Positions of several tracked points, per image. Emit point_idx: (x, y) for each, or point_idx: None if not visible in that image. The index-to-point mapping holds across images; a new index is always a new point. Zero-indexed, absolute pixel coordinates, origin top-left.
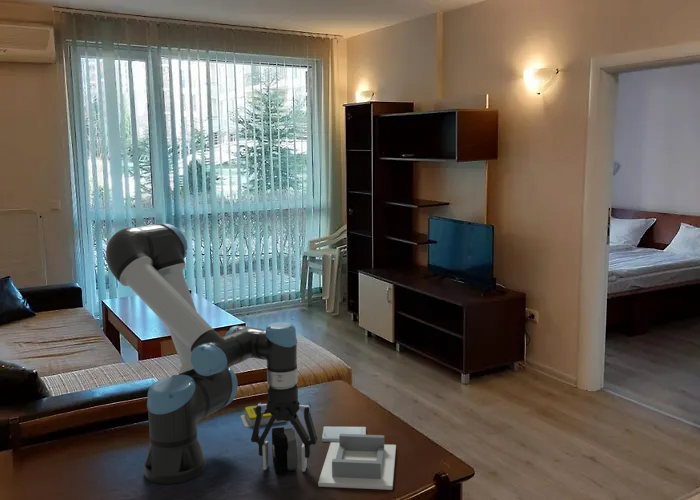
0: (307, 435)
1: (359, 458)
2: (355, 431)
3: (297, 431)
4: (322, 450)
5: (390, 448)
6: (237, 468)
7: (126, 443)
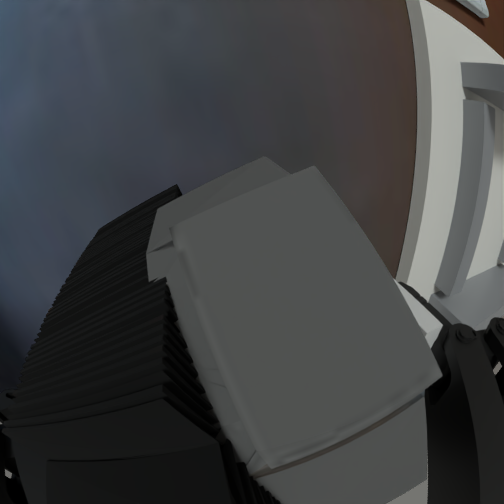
0: (486, 375)
1: (498, 167)
2: None
3: (434, 492)
4: (385, 34)
5: None
6: (10, 318)
7: None
